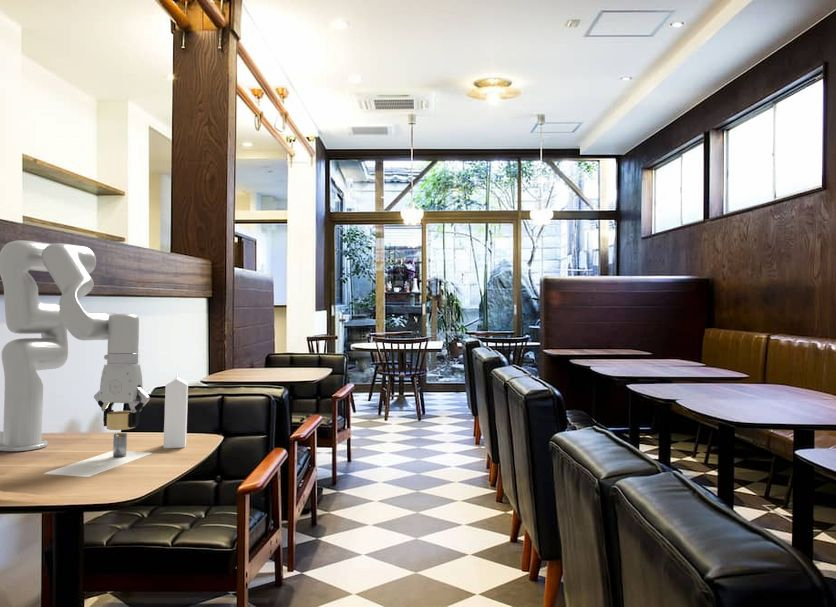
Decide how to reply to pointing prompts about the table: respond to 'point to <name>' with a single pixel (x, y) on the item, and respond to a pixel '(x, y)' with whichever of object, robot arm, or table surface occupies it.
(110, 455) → the board
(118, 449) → the cylinder
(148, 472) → the table surface
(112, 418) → the ring
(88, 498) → the table surface
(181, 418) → the milk
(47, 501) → the table surface
